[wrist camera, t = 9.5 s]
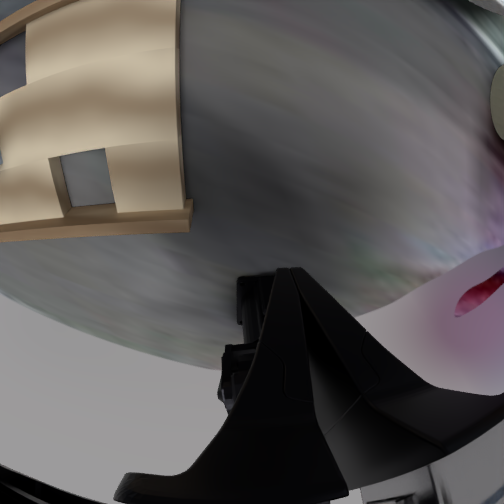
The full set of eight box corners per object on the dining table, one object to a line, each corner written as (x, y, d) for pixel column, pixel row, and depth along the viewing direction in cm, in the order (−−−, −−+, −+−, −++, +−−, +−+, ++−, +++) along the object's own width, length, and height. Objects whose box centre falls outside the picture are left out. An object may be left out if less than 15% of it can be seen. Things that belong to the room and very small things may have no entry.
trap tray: (193, 210, 21) (189, 232, 19) (-3, 226, 19) (-18, 243, 17) (190, -29, 10) (184, -44, 8) (-36, 59, 8) (-57, 66, 6)
